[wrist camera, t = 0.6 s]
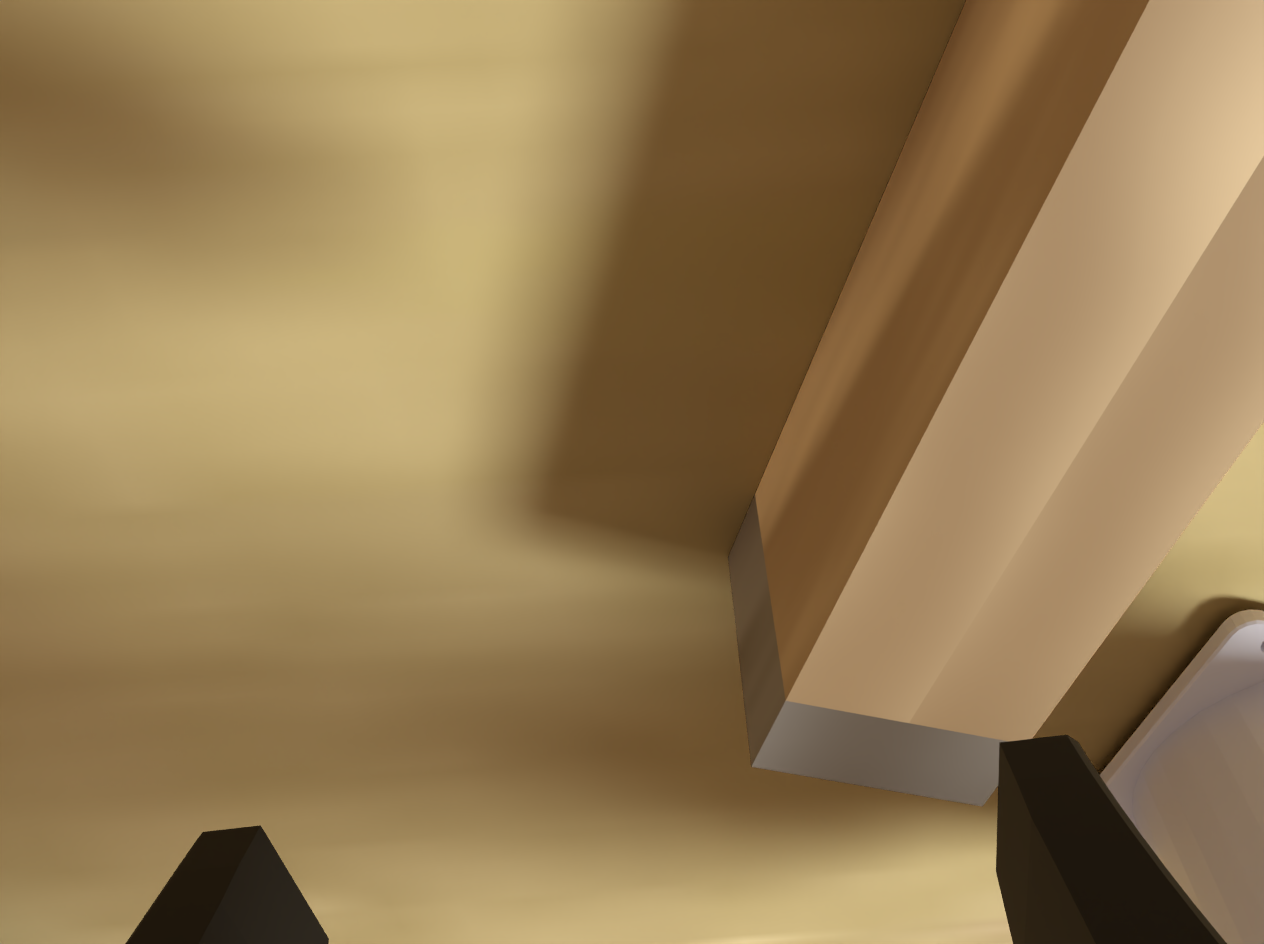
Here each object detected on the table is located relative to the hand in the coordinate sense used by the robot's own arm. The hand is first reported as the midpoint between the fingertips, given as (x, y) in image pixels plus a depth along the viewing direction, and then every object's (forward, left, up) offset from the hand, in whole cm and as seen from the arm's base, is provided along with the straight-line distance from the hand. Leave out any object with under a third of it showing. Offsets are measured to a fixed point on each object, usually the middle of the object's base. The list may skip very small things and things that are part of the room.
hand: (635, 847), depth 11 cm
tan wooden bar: (-5, -3, -10) cm, 12 cm away
